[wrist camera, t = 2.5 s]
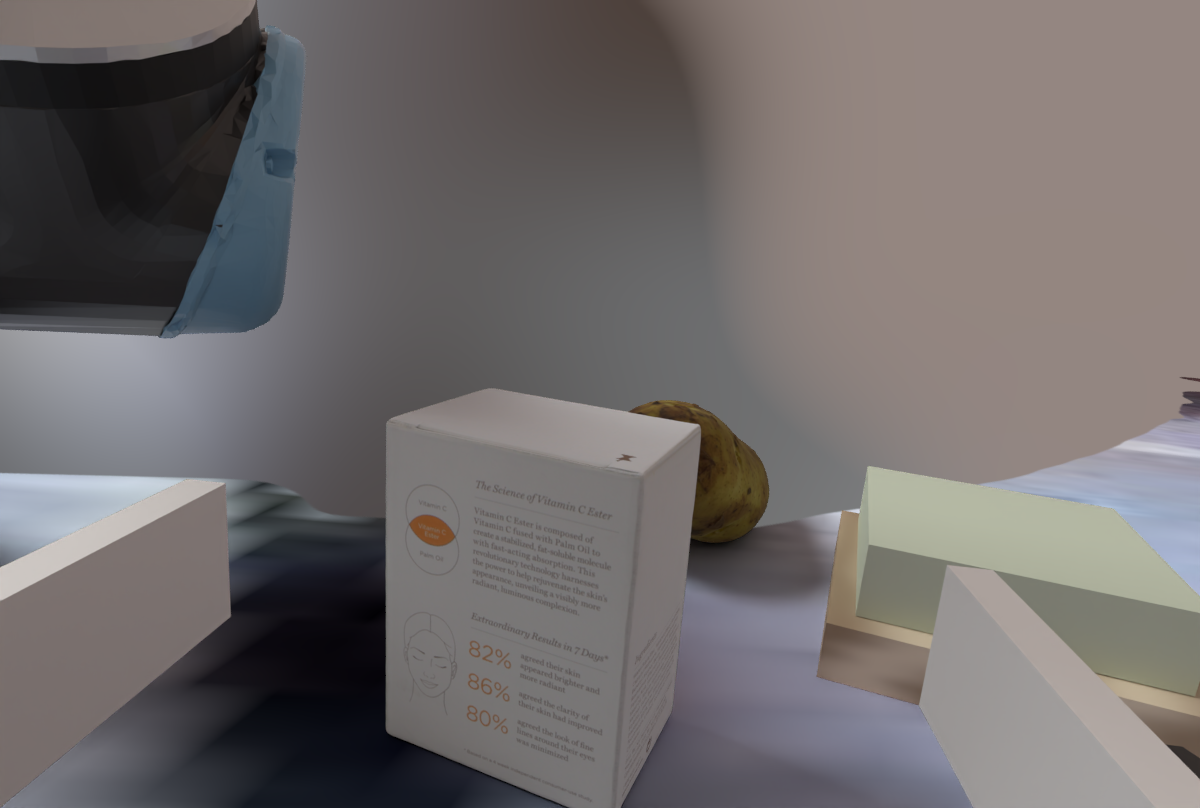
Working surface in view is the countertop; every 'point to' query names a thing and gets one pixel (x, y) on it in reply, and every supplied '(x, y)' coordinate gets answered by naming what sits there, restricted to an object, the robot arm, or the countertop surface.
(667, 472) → the small box
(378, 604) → the countertop surface
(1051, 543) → the sage top slab
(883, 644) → the birch base slab
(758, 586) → the countertop surface
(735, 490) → the potato
